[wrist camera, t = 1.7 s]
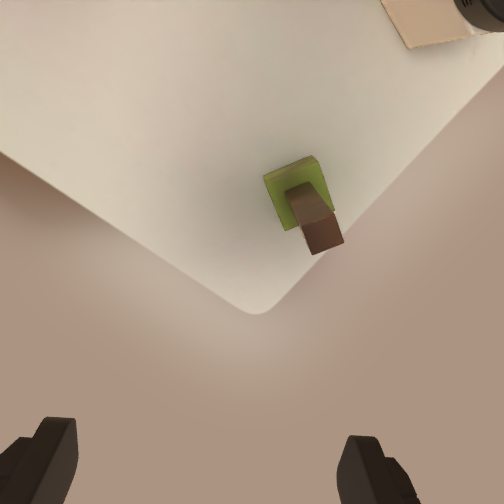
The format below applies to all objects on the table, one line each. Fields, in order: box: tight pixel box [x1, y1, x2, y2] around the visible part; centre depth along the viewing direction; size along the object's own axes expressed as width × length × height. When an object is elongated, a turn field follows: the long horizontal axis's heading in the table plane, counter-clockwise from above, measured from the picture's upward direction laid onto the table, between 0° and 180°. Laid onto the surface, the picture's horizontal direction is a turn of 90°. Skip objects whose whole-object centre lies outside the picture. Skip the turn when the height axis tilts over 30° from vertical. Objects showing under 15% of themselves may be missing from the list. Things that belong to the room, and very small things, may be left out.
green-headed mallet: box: [263, 155, 344, 255], centre depth 31 cm, size 5×5×12 cm
